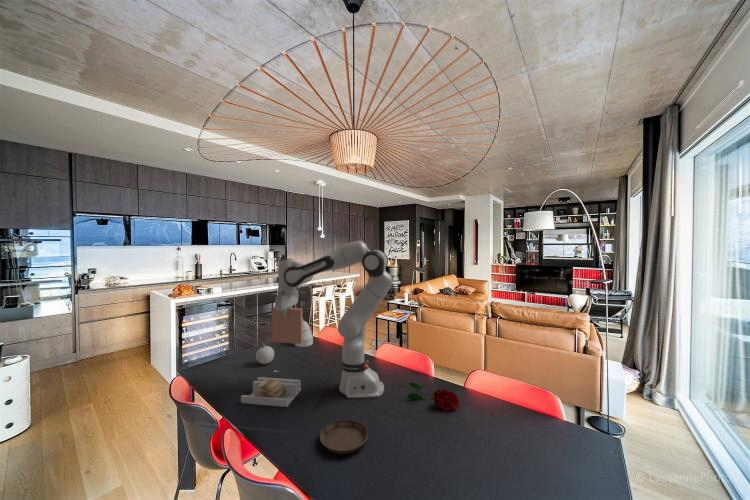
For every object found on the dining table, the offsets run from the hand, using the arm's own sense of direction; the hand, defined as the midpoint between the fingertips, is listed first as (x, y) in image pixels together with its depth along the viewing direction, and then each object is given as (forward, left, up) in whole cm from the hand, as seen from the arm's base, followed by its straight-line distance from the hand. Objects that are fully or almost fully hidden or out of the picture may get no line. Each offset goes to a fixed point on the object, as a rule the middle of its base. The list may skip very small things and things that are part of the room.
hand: (287, 315), depth 151 cm
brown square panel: (0, 0, -14) cm, 14 cm away
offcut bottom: (0, +19, -34) cm, 39 cm away
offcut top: (0, +19, -29) cm, 35 cm away
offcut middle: (0, +19, -32) cm, 37 cm away
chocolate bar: (+13, -1, -36) cm, 38 cm away
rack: (0, +16, -35) cm, 39 cm away
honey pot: (+14, -56, -35) cm, 68 cm away
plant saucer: (-41, +40, -36) cm, 67 cm away
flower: (-72, +9, -36) cm, 81 cm away
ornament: (+24, -20, -35) cm, 47 cm away
